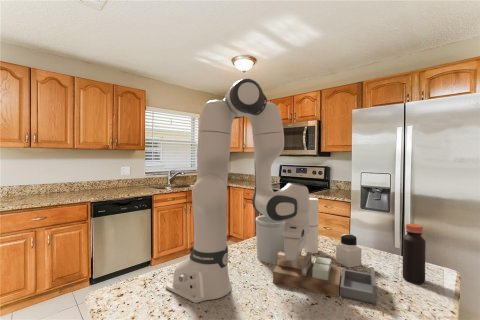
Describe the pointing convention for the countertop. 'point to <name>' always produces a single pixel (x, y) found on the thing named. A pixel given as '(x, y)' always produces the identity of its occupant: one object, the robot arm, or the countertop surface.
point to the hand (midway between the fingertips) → (296, 263)
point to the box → (359, 286)
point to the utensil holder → (269, 239)
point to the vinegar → (414, 254)
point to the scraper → (303, 262)
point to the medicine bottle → (348, 251)
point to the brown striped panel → (309, 279)
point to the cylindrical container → (312, 227)
